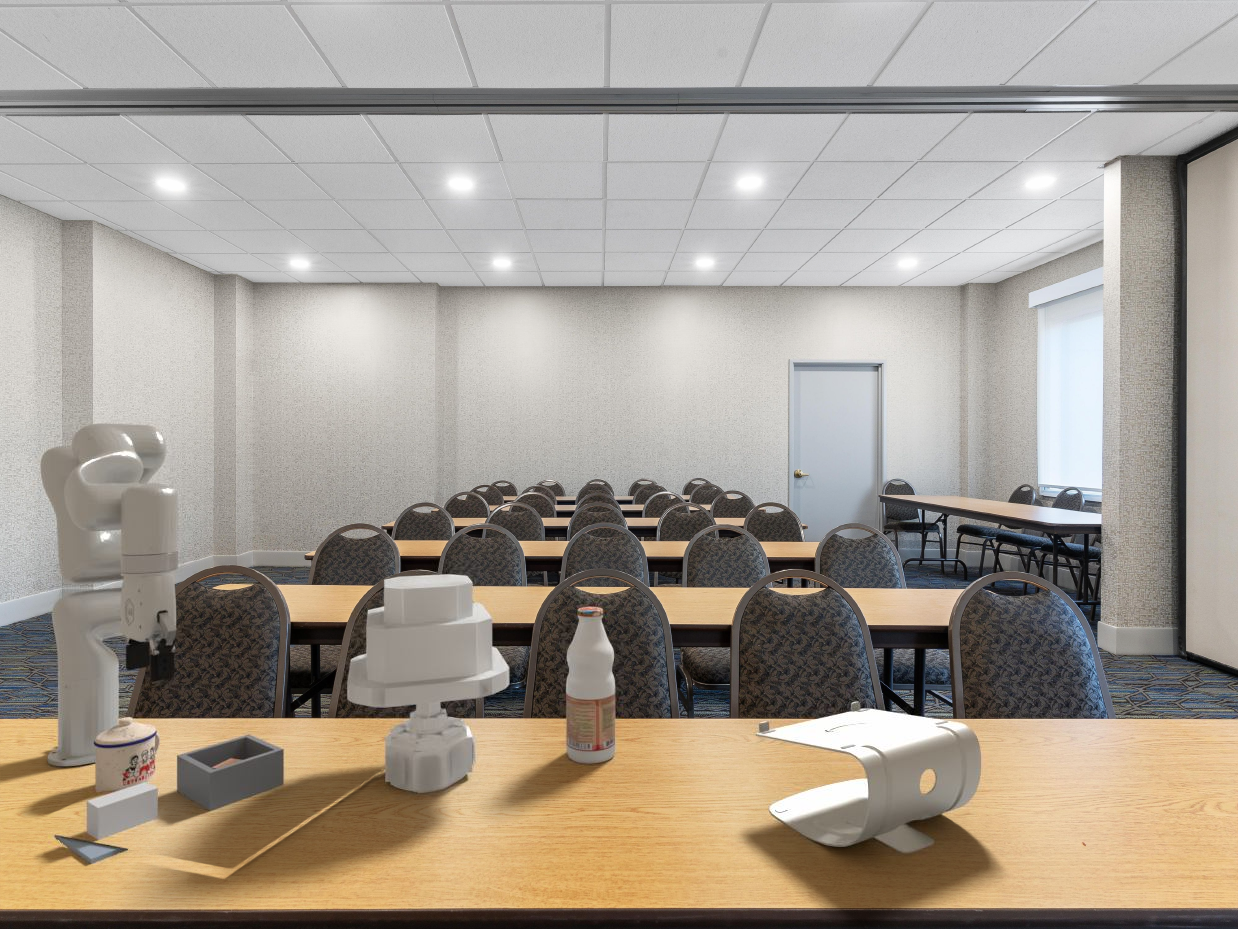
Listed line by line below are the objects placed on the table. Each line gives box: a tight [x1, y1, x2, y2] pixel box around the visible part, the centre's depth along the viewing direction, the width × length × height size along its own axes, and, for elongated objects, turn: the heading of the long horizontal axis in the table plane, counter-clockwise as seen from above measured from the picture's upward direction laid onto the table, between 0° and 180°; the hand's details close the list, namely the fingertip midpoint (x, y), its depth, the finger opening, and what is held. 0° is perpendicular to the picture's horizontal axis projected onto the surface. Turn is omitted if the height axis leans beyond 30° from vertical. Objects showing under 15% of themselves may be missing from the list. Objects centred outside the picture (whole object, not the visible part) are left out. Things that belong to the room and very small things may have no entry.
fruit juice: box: [565, 606, 616, 764], centre depth 139 cm, size 9×9×28 cm
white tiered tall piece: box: [346, 573, 510, 794], centre depth 129 cm, size 27×27×35 cm
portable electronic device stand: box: [755, 701, 982, 854], centre depth 113 cm, size 26×24×16 cm
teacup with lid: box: [94, 716, 161, 794], centre depth 128 cm, size 12×9×12 cm
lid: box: [54, 782, 159, 865], centre depth 110 cm, size 13×13×6 cm
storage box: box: [176, 734, 285, 812], centre depth 123 cm, size 12×12×7 cm
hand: (149, 673), depth 113 cm, fingers open, 9 cm apart
